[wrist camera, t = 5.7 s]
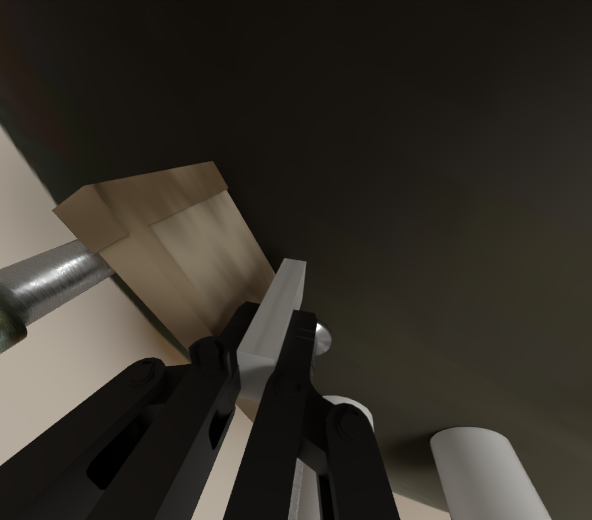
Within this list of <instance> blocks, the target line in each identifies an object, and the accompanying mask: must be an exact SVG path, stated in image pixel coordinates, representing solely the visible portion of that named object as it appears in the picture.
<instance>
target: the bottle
mask: <svg viewBox="0 0 592 520" xmlns="http://www.w3.org/2000/svg"><path fill="white" fill-rule="evenodd" d="M322 397H324V398H325V399H327V400H328V401H330V402H332V403H333V404H335V405H336V404H340V403H349V404H353V405H354V406H356V407H358V408H359V409H361V410H362V411H363V413H364V414H365V415H366V416H367V417H368V419H369V421H370V423H371V426H372V428H373V420H372V414H371V413H370V412H369V411H368V409H367V408H366V407H364V406H363V405H361V404H360V403H358V402H356V401H354V400H351V399H349V398H345V397H340V396H322ZM373 431H374V428H373ZM297 520H320V512H319V501H318V491H317V481H316V472H315V471H313V470H312V469H311V468H310V467H308V466H307V465H306V464H305V463H303V471H302V480H301V488H300V497H299V505H298V513H297Z"/></svg>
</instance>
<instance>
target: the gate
mask: <svg viewBox="0 0 592 520" xmlns="http://www.w3.org/2000/svg"><path fill="white" fill-rule="evenodd" d="M226 189H228V186H227V185H226V183H225V181H224V179H223V178H222V176H221V174H220V172H219V171H218V169H217V167H216V165H215V164H214V162H213V161H210V162H205V163H200V164H194V165H189V166H184V167H179V168H174V169H169V170H163V171H158V172H153V173H148V174H143V175H137V176H132V177H127V178H122V179H117V180H111V181H106V182H101V183H96V184H91V185H86V186H83V187H82V188H81V189H79V190H78V191H77V192H75V193H74V194H73V195H71V196H70V197H69V198H68V199H66V200H65V201H64V202H62V203H61V204H60V205H58V206H57V207H56V208H55V209H53V210H52V211H53V212H54V213H55V214H56V215H57V216H58V217H59V219H60V220H61V221H62V222H63V223H64V224H65V225H66V226H67V227H68V228H69V229H70V230H71V232H72V233H73V234H74V235H75V236H76V237H77V238H78V239H79V240H80V241H81V242H82V243H83V245H84V246H85V247H86V248H87V249H88V250H89V251H90V252H91V253H92V254H94V253H96V252H98V253H99V254H100V255H101V256H102V257H103V258H104V259H105V261H106V262H107V263H108V264H109V265H110V266H111V267H112V268H113V269H114V270H115V272H116V273H117V274H118V275H119V276H120V277H121V278H122V279H123V280H124V281H125V283H126V284H127V285H128V286H129V287H130V288H131V289H132V290H133V291H134V292H135V294H136V295H137V296H138V297H139V298H140V299H141V300H142V301H143V302H144V303H145V305H146V306H147V307H148V308H149V309H150V310H151V311H152V312H153V313H154V314H155V316H156V317H157V318H158V319H159V320H160V321H161V322H162V323H163V324H164V325H165V327H166V328H167V329H168V330H169V331H170V332H171V333H172V334H173V335H174V336H175V338H176V339H177V340H178V341H179V342H180V343H181V344H182V345H183V346H184V347H185V349H186V350H187V351H188V352H189V349H188V348H189V347H190V346H191V345H192V344H193V343H194V342H195V341H197V340H199V339H201V338H204V337H208V336H218V337H219V336H220V335H221V333H222V332H223V330H224V328H225V327H226V325H227V324H228V322H229V321H230V319H231V318H232V317H233V314H234V313H235V311H236V310H237V308H238V307H239V306H241V305H242V304H243V303H245V302H246V301H249V302H254V303H259V304H261V303H262V301H263V299H264V297H265V295H266V293H267V291H268V289H269V287H270V285H271V283H272V281H273V279H274V278H275V276H276V274H275V273H274V271H273V269H272V267H271V266H270V264H269V262H268V261H267V259H266V257H265V255H264V254H263V252H262V250H261V248H260V247H259V245H258V243H257V242H256V240H255V238H254V236H253V235H252V233H251V231H250V230H249V228H248V226H247V224H246V223H245V221H244V219H243V218H242V216H241V214H240V212H239V211H238V209H237V207H236V205H235V204H234V202H233V200H232V199H231V197H230V195H229V193H228V192H227V190H226ZM235 404H236V405H237V406H238V407H239V408H240V409H241V410H242V411H243V412H244V413H245V415H246V416H247V417H248V418H249V419H250V420H251V421H252V422H253V423H254V420H255V417H256V414H257V411H258V407H259V404H260V403H259V402H255V401H251V400H247V399H243V398H241V394H240V392H239V395H238V397H237V400H236V402H235Z"/></svg>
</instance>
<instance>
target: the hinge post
mask: <svg viewBox="0 0 592 520" xmlns="http://www.w3.org/2000/svg"><path fill="white" fill-rule="evenodd" d="M317 322H318V323H317V329H316V335H315V342H314V348H313V355H312V361H311V368H310V380H311V383H312V385H313V378H314V370H315V361H316V355H320V354H322V353H324V352H326V351H327V350H328V349H329V348H330V345H331V332H330V330H329V328H328V327H327V326H326V325H325V324H324V323H323V322H321V321H320V320H318V319H317ZM302 471H303V462H302V461H301V460H300V459H298V458H297V462H296V469H295V475H294V482H293V489H292V496H291V503H290V509H289V516H288V520H297V513H298V505H299V497H300V488H301V480H302Z"/></svg>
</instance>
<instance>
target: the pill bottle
mask: <svg viewBox="0 0 592 520" xmlns="http://www.w3.org/2000/svg"><path fill="white" fill-rule="evenodd" d="M430 447H431V450H432V454H433V457H434V461H435V464H436V468H437V471H438V475H439V478H440V482H441V485H442V489H443V492H444V496H445V499H446V503H447V506H448V510H449V513H450V517H451V520H552V519H551V517H550V515H549V513H548V511H547V509H546V508H545V506H544V504H543V502H542V500H541V499H540V497H539V495H538V493H537V491H536V489H535V488H534V486H533V484H532V482H531V480H530V478H529V477H528V475H527V473H526V471H525V469H524V467H523V466H522V464H521V462H520V460H519V458H518V456H517V455H516V453H515V451H514V449H513V447H512V445H511V444H510V442H509V441H508V439H507V438H505V437H504V436H503V435H501V434H499V433H497V432H495V431H492V430H489V429H484V428H479V427H454V428H448V429H445V430H442V431H440V432H438V433H436V434H435V435H434V436H433V437H432V438H431V440H430Z"/></svg>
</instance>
